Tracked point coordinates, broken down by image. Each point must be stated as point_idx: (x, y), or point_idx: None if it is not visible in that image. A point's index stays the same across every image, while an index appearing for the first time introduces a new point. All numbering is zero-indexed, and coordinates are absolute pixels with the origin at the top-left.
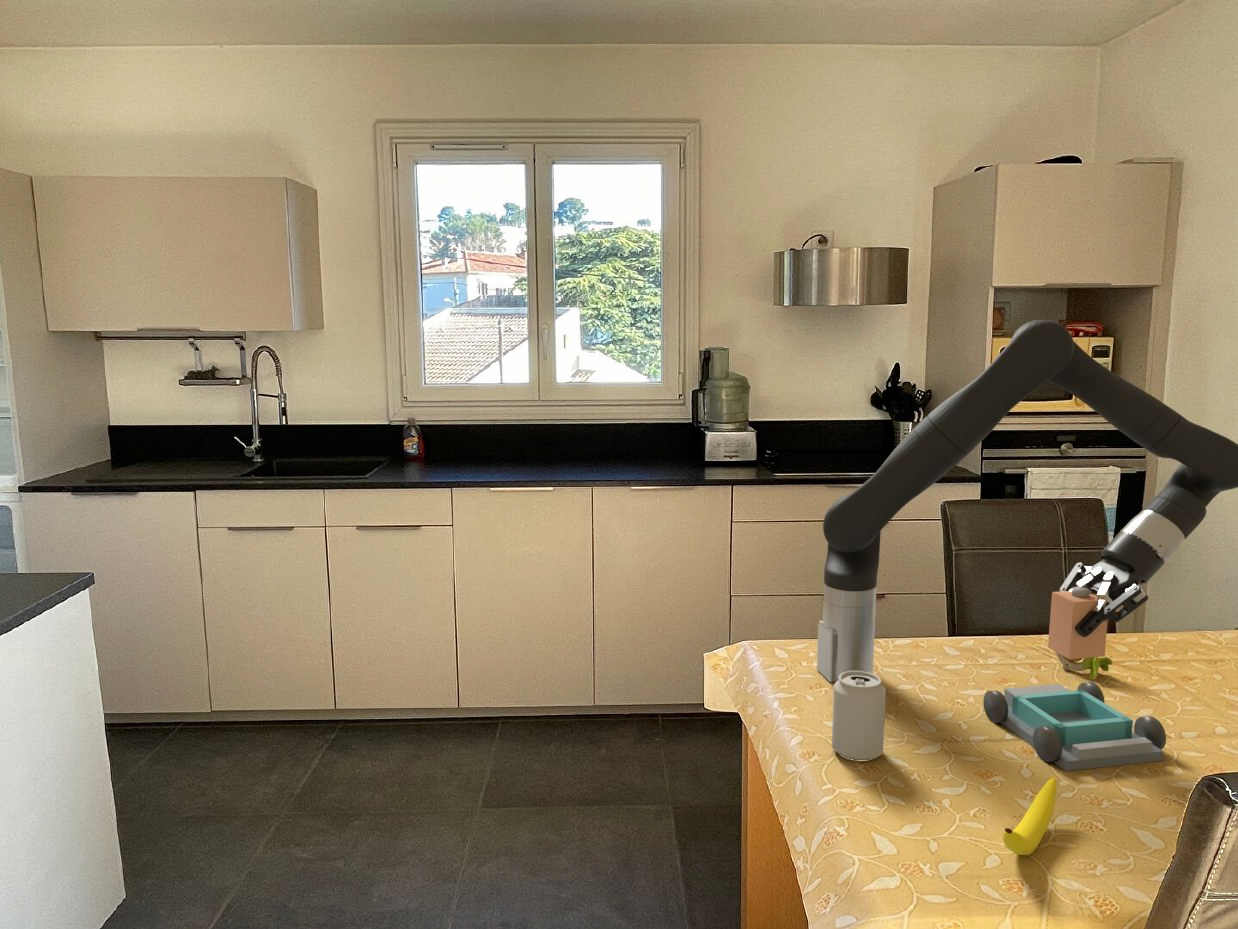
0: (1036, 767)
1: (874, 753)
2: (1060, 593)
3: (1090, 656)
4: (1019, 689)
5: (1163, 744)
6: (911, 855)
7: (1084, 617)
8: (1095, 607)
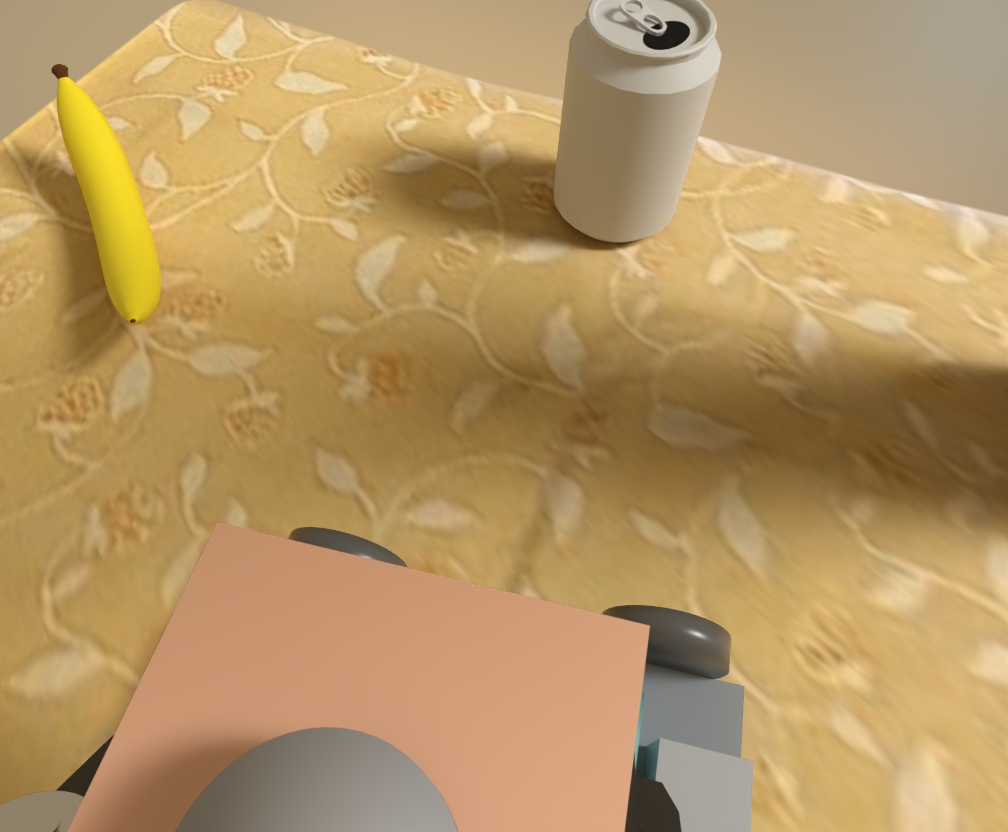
0: (339, 522)
1: (555, 189)
2: (550, 673)
3: None
4: (727, 829)
5: None
6: (255, 95)
7: None
8: (46, 823)
